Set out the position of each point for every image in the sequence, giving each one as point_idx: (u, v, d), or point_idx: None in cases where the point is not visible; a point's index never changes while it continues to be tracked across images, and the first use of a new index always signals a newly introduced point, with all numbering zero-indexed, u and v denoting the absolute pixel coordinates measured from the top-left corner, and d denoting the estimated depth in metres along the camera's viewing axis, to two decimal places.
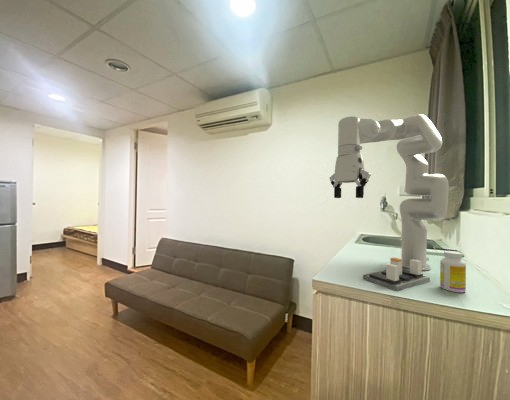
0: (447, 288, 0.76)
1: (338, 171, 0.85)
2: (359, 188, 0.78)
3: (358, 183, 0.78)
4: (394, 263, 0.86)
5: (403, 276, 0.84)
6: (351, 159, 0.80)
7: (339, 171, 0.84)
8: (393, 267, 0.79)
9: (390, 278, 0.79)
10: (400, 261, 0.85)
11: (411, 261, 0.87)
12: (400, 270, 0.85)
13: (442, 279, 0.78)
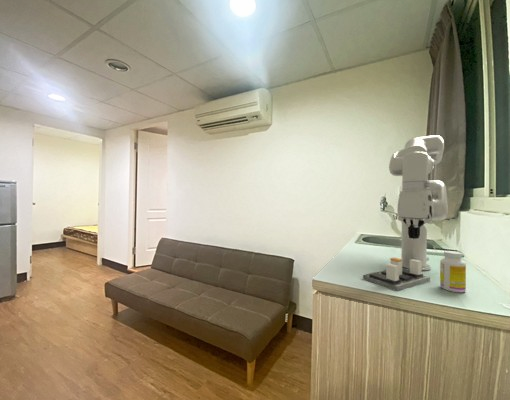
0: (447, 288, 0.76)
1: (403, 206, 0.82)
2: (416, 229, 0.79)
3: (415, 224, 0.79)
4: (394, 263, 0.86)
5: (403, 276, 0.84)
6: (420, 196, 0.77)
7: (404, 207, 0.82)
8: (393, 267, 0.79)
9: (390, 278, 0.79)
10: (400, 261, 0.85)
11: (411, 261, 0.87)
12: (400, 270, 0.85)
13: (442, 279, 0.78)
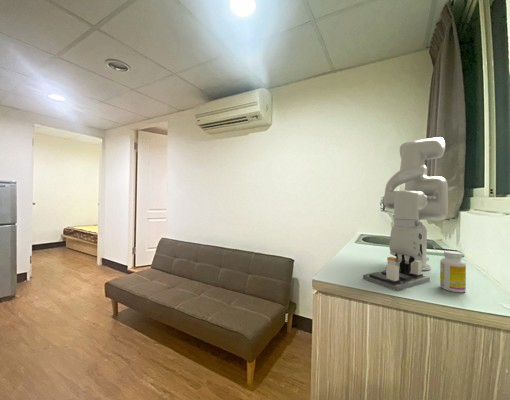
0: (447, 288, 0.76)
1: (394, 242, 0.85)
2: (407, 265, 0.82)
3: (406, 260, 0.82)
4: (391, 262, 0.87)
5: (403, 276, 0.84)
6: (411, 234, 0.80)
7: (396, 243, 0.84)
8: (393, 267, 0.79)
9: (390, 278, 0.79)
10: (396, 261, 0.86)
11: None
12: None
13: (442, 279, 0.78)
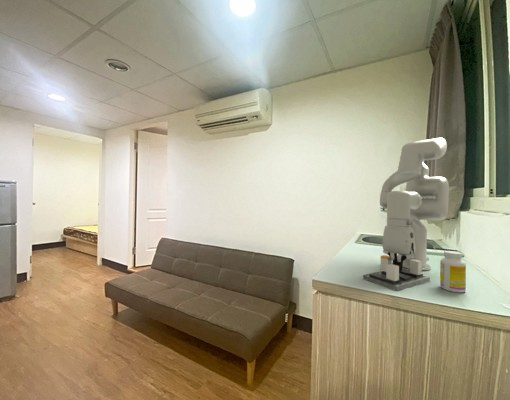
0: (447, 288, 0.76)
1: (387, 241, 0.87)
2: (399, 263, 0.85)
3: (398, 259, 0.84)
4: (384, 260, 0.89)
5: (403, 276, 0.84)
6: (403, 233, 0.82)
7: (388, 241, 0.87)
8: (393, 267, 0.79)
9: (390, 278, 0.79)
10: (389, 259, 0.88)
11: (411, 261, 0.87)
12: None
13: (442, 279, 0.78)
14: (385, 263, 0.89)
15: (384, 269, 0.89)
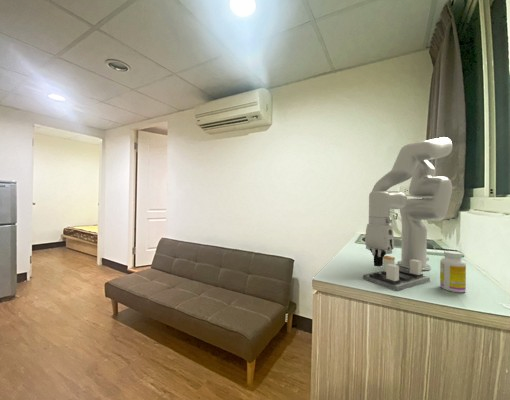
0: (447, 288, 0.76)
1: (369, 238, 0.94)
2: (379, 258, 0.91)
3: (378, 254, 0.91)
4: (386, 261, 0.88)
5: (403, 276, 0.84)
6: (382, 230, 0.89)
7: (370, 238, 0.93)
8: (393, 267, 0.79)
9: (390, 278, 0.79)
10: (392, 260, 0.87)
11: (411, 261, 0.87)
12: None
13: (442, 279, 0.78)
14: None
15: None
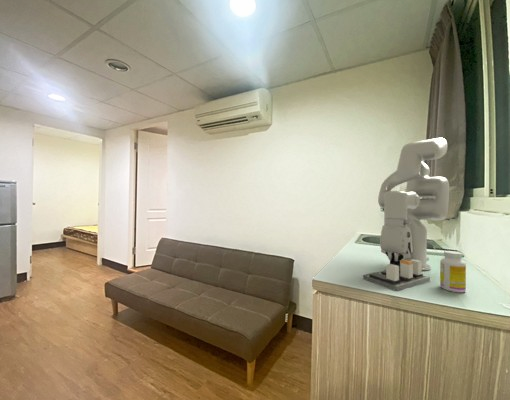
0: (447, 288, 0.76)
1: (385, 240, 0.88)
2: (396, 262, 0.85)
3: (395, 258, 0.85)
4: (404, 266, 0.82)
5: None
6: (400, 233, 0.83)
7: (386, 241, 0.87)
8: (393, 267, 0.79)
9: (390, 278, 0.79)
10: (410, 264, 0.81)
11: None
12: (411, 273, 0.82)
13: (442, 279, 0.78)
14: (406, 268, 0.82)
15: (404, 275, 0.82)
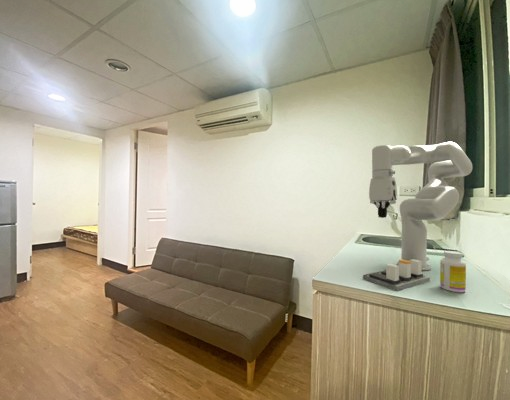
0: (447, 288, 0.76)
1: (373, 191, 0.98)
2: (383, 210, 0.96)
3: (382, 205, 0.96)
4: (402, 265, 0.83)
5: None
6: (386, 182, 0.93)
7: (374, 191, 0.98)
8: (393, 267, 0.79)
9: (390, 278, 0.79)
10: (408, 264, 0.82)
11: (411, 261, 0.87)
12: (408, 272, 0.82)
13: (442, 279, 0.78)
14: (404, 268, 0.83)
15: (403, 274, 0.83)
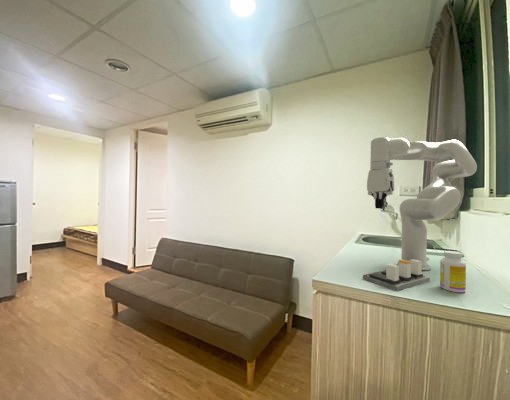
0: (447, 288, 0.76)
1: (370, 183, 1.00)
2: (380, 200, 0.97)
3: (379, 196, 0.97)
4: (402, 265, 0.83)
5: None
6: (383, 173, 0.95)
7: (371, 183, 0.99)
8: (393, 267, 0.79)
9: (390, 278, 0.79)
10: (408, 264, 0.82)
11: (411, 261, 0.87)
12: (408, 272, 0.82)
13: (442, 279, 0.78)
14: (404, 268, 0.83)
15: (403, 274, 0.83)
